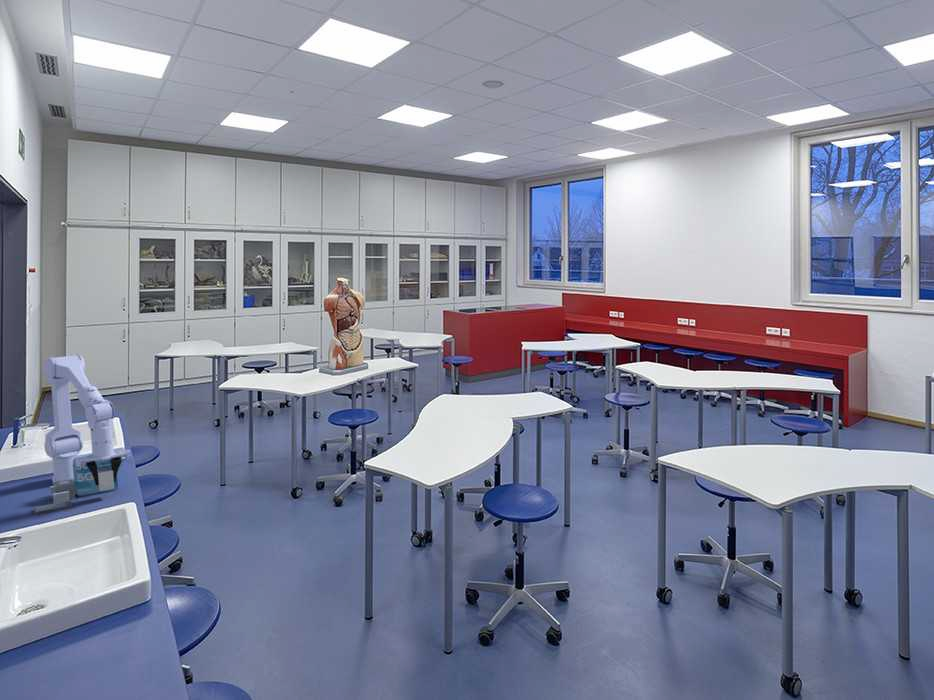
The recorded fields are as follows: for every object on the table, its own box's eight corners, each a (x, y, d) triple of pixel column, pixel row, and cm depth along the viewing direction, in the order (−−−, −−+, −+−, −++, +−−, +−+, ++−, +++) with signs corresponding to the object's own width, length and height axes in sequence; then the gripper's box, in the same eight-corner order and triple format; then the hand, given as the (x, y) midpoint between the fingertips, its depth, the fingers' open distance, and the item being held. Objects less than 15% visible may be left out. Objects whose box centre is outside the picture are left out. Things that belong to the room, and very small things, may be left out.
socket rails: (51, 495, 189) (50, 486, 189) (66, 492, 192) (65, 483, 191) (53, 504, 182) (53, 494, 182) (69, 501, 184) (69, 491, 184)
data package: (75, 496, 188) (71, 460, 187) (75, 492, 192) (72, 456, 190) (118, 489, 194) (116, 454, 193) (118, 485, 198) (115, 450, 197)
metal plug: (97, 488, 187) (96, 469, 186) (112, 485, 190) (110, 466, 189) (99, 491, 184) (98, 472, 183) (114, 488, 187) (112, 469, 186)
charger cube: (55, 497, 188) (53, 481, 187) (74, 493, 191) (72, 478, 190) (56, 502, 184) (55, 486, 183) (75, 498, 187) (74, 482, 186)
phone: (34, 511, 178) (34, 507, 178) (70, 504, 183) (70, 500, 183) (35, 516, 174) (34, 512, 174) (71, 509, 179) (71, 505, 179)
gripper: (76, 448, 177) (79, 491, 179) (130, 439, 187) (133, 481, 188) (73, 442, 183) (76, 485, 185) (126, 434, 192) (129, 475, 194)
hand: (105, 482), depth 187 cm, fingers closed on metal plug, 4 cm apart
